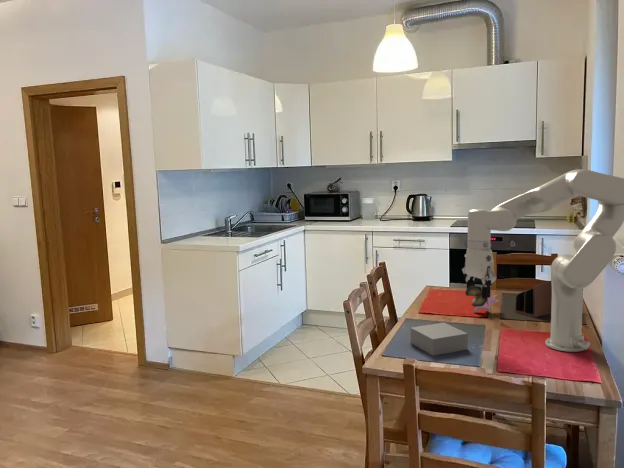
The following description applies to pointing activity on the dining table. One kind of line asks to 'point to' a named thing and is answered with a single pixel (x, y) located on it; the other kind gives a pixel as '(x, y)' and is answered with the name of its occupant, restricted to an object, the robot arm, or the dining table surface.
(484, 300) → the eagle figurine
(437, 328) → the gray block
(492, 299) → the lily
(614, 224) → the robot arm
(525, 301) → the letter holder
